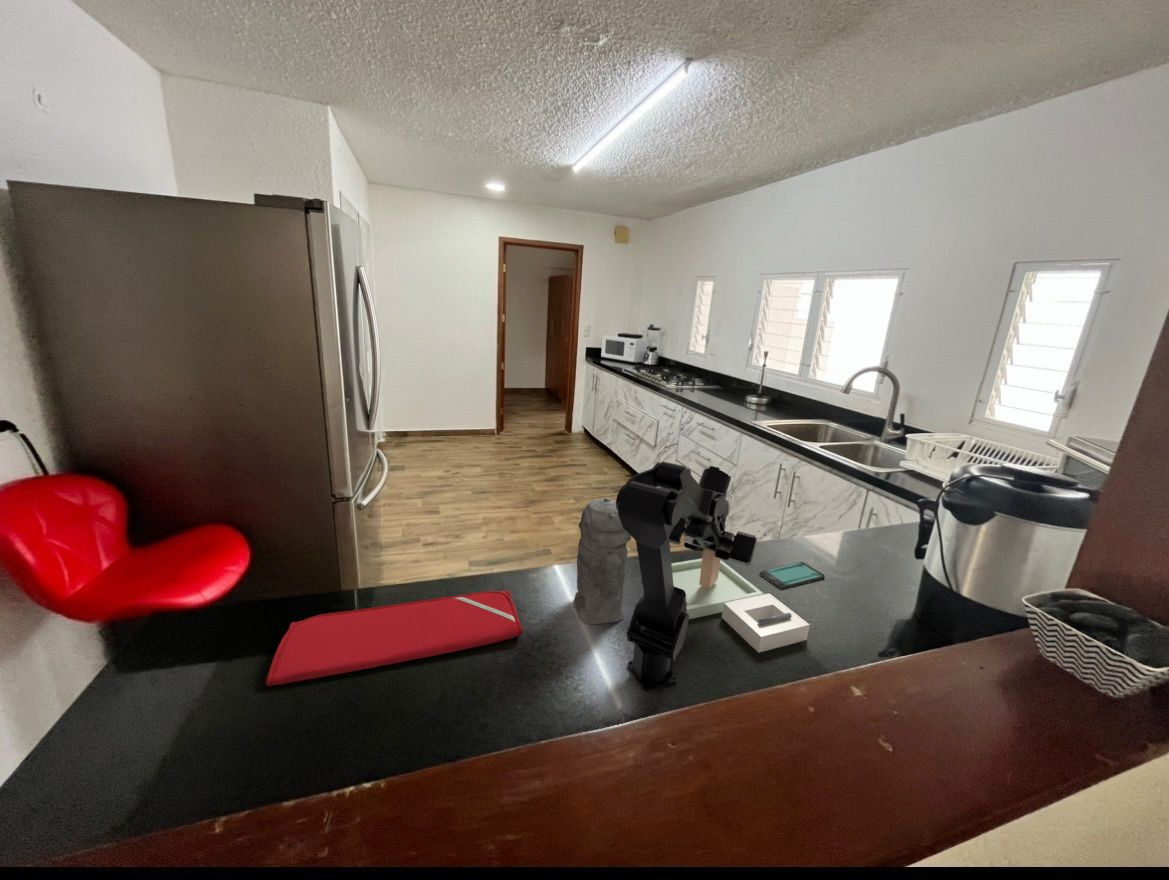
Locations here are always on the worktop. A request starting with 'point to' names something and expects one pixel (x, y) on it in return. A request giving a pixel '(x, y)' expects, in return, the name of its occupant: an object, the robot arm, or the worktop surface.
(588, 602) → the figurine
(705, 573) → the salmon pink rectangular block
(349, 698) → the worktop surface
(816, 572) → the smartphone
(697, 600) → the tray
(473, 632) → the dish drying mat
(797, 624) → the white slotted base
